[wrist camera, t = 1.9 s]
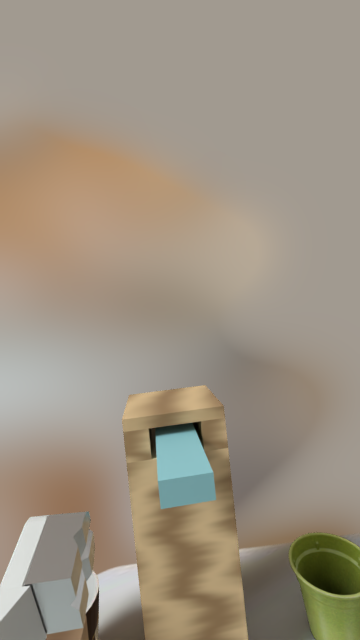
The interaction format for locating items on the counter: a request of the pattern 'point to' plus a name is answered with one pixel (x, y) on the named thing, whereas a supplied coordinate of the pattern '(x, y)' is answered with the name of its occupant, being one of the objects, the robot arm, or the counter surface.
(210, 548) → the oak box
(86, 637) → the walnut step
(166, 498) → the cover plate
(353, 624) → the plant pot
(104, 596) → the counter surface
